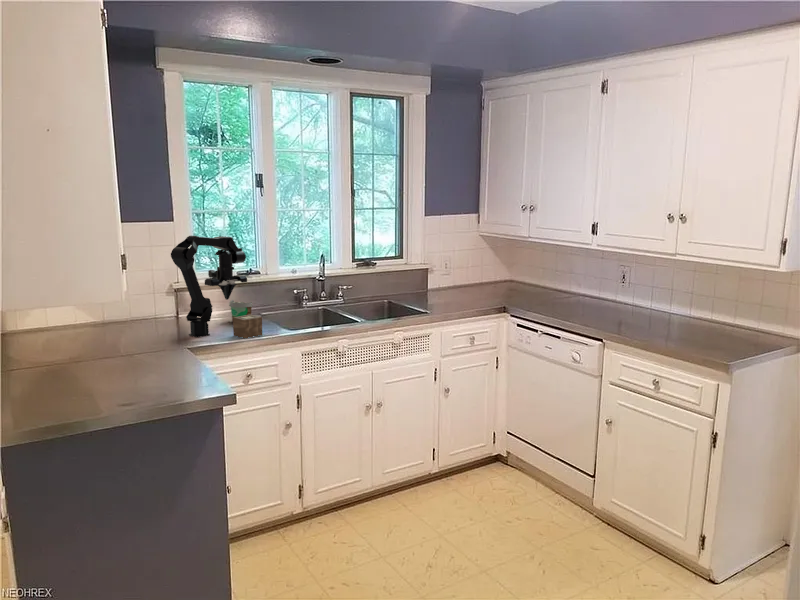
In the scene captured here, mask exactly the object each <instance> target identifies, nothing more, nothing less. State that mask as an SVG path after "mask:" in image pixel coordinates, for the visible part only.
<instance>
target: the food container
mask: <svg viewBox="0 0 800 600" xmlns="http://www.w3.org/2000/svg"><path fill="white" fill-rule="evenodd" d="M228 306H229V307H230V313H231V321H232V322H233V317H238V316H244V315H250V314H251V315H252V307H253V303H252V301H249V302H243V301H235V300H234V299H232V300H230V301H229V305H228Z"/></svg>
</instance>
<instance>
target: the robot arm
mask: <svg viewBox="0 0 800 600" xmlns="http://www.w3.org/2000/svg"><path fill="white" fill-rule="evenodd" d="M199 246H203V247H204V246H206V247H207V246H208V247H213V248H215V249H218V250H217V251H216V252H215V253H214V256H218V266H217V267H216V268H217V270H214V269H210V270H208V272H207V273H208V275H207V276H208V278H205V280H204V285H205V286H208V287H215V286H218V288H220V289H221V292H222V294H223V297H224V298H225V300H229V299H230V297H231V294H232V292H233V290H234V288H235V287H236V286H237V283H236V282H241V283H248V277H247V276H246V275H242V274H237V275H234V274H233V271H234V270H235V267H234V266H233V265H234V264H241V263H245V261H246V259H247V255H246V254H245V252H244V251H243V248H241V247H238V246H237V243H236V242H235V241H234V238H233V237H232V236H221V235H220V236H214V237H206V236H198V235H189V236H187V237H185V239H183V240H182V241H181V242H179V243H177V245H176V246H175V247H173V249H172V250H171V252H170V257H171V259H172V261H173V263H174V265H176V267H177V268H179V270H180V271H181V274H182V277H183V279H184V283H185V284H186V288H187V291H188V293H189V296H190V299H191V300H190V304H189V307H190V309H189V312H188V314H187V315H186V317H185V318H186V321H187V322H189V324H190V326H189V327H190V333H189V334H188V336H190V337H193V336H194V338H201V337H200V336H202V337H207V336H211V334H210V333H209V323H208V322H210V321H211V318H212V313H213V304H212V301H211V299H210V298H208V297H204V296H205V295H204V294H203V292H202V289H201V286H200V283H199V280H198V278H197V275H196V272H195V269H194V262H195V255H196V254H197V252H198V248H199ZM206 335H207V336H206Z"/></svg>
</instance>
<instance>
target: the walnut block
mask: <svg viewBox="0 0 800 600" xmlns="http://www.w3.org/2000/svg"><path fill="white" fill-rule="evenodd" d="M246 316H250V317H253V318H247V319H245V318H241V317H246ZM232 325H233V327H232V328H233V331H232V333H233V337H236V336H238V337H237V338H240V337H243V338H242V339H244V338H246V339H249V338H248V337H251V338H254V337H253V336H256V337H259V336H258V335H261V336H263V317H262V316H259V315H254V314H252V313H251V314H250V315H244V316H238V317H233V321H232Z"/></svg>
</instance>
